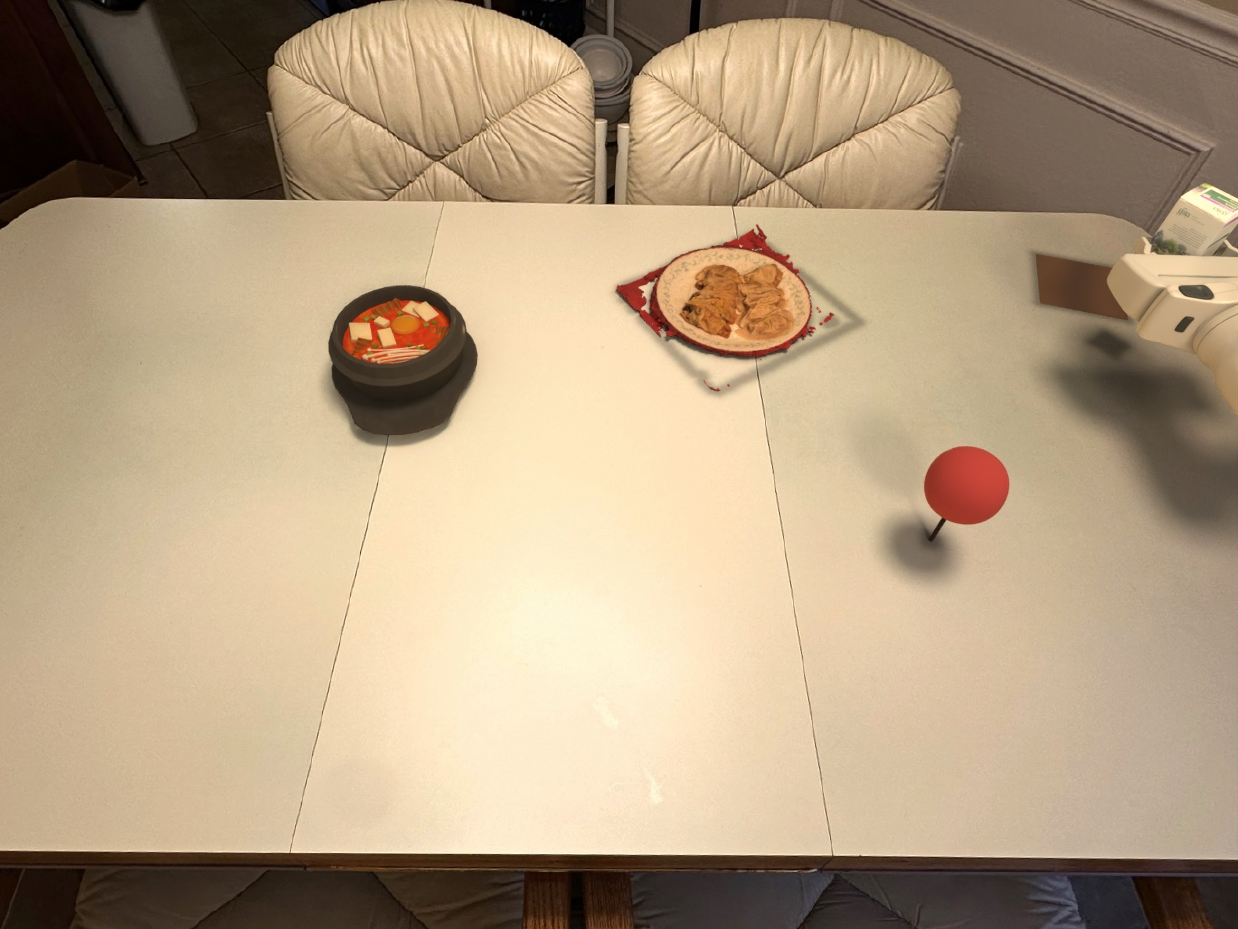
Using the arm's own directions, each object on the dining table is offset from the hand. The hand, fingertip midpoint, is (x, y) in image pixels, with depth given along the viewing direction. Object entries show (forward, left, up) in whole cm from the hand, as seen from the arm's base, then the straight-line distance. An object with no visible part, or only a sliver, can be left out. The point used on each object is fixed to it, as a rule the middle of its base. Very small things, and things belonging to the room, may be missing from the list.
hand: (1178, 242), depth 90 cm
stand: (+3, -11, -17) cm, 20 cm away
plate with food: (+51, +9, -17) cm, 54 cm away
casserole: (+90, +34, -17) cm, 97 cm away
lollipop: (+23, +41, -17) cm, 50 cm away
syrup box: (0, +1, -8) cm, 8 cm away
